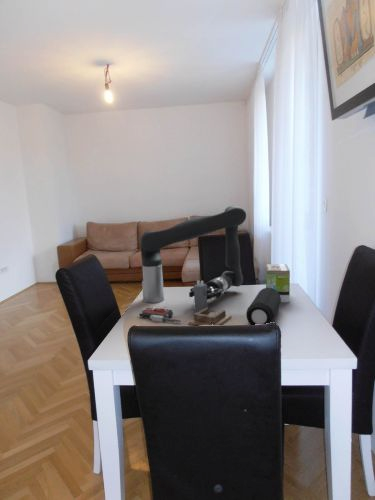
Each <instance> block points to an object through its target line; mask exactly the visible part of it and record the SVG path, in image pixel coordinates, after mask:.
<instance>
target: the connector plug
mask: <svg viewBox="0 0 375 500" xmlns="http://www.w3.org/2000/svg"><path fill="white" fill-rule="evenodd" d="M193 287H194V296H193V298H194V311H196V312H199V311H201V310H202V309H204V308H209V307H208V306H209V305H208V300H207V298H206V295H207V284H206V283H204V280H201V281H200V280H196V284H195V285H193Z"/></svg>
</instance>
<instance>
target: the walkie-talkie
mask: <svg viewBox="0 0 375 500" xmlns="http://www.w3.org/2000/svg"><path fill="white" fill-rule="evenodd" d="M138 316H139V317H142V318H143V319H151V320H152V321H153V322H158V323H163V322H171V323H174V322H175V323H182V322H181V319H174V318H172V317H173V316H174V313H173V310H172V309H169V308H167V307H166V306H157V307H154V306H151V307H146V308H145V309H143V310H142V311H141V313H139V314H138Z"/></svg>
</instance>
